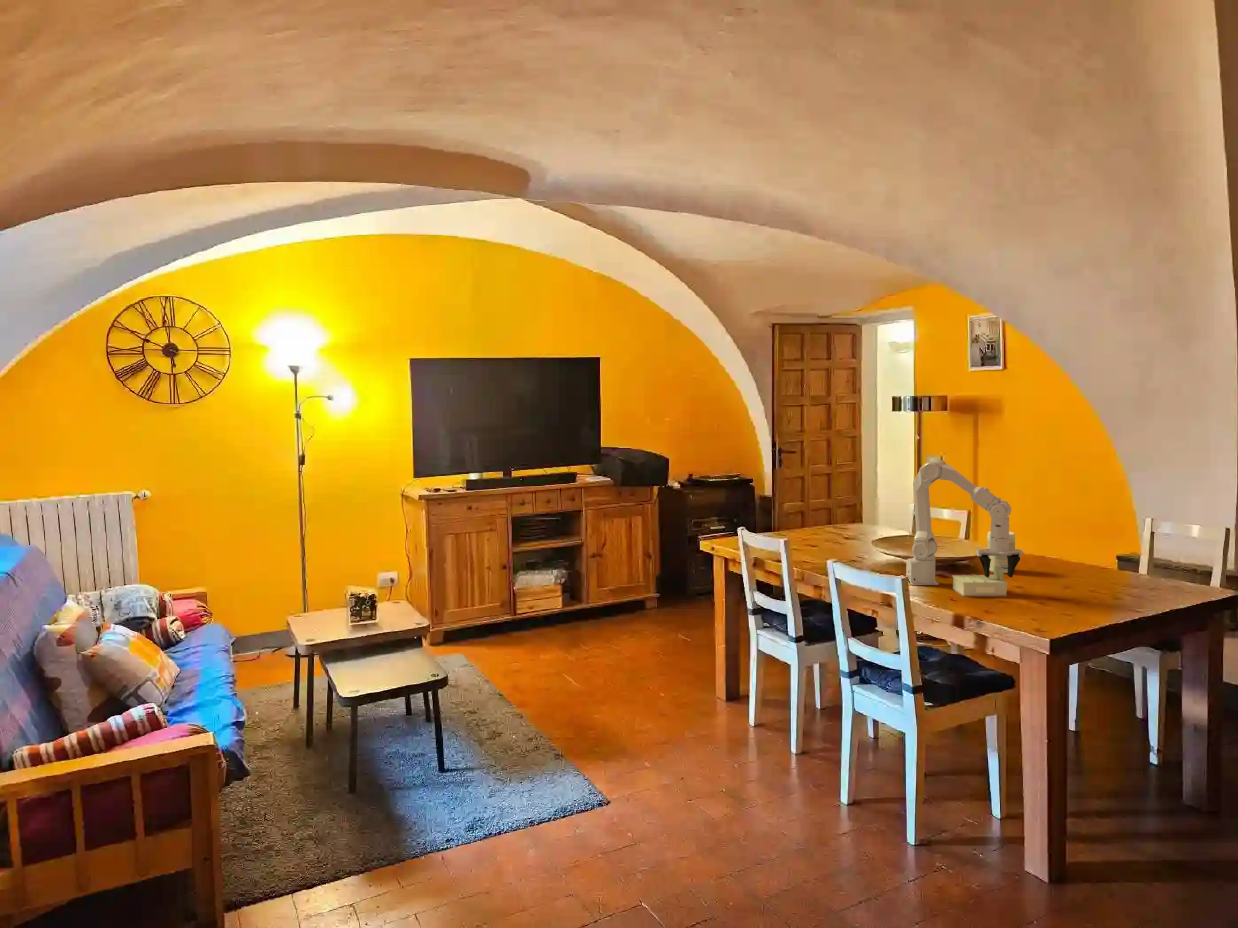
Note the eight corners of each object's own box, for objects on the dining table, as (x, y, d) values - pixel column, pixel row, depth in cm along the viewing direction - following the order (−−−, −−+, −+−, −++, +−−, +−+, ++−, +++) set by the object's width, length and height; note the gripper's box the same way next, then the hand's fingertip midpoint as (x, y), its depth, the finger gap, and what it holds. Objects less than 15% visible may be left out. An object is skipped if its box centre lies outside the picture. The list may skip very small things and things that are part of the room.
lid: (963, 584, 275) (963, 570, 275) (952, 577, 285) (952, 563, 285) (1007, 584, 274) (1007, 570, 274) (994, 577, 285) (995, 563, 284)
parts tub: (963, 596, 276) (963, 584, 275) (952, 588, 286) (952, 577, 285) (1006, 596, 275) (1007, 584, 274) (994, 588, 285) (994, 577, 285)
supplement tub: (1019, 571, 310) (1021, 532, 308) (1005, 575, 305) (1006, 535, 303) (995, 567, 318) (996, 529, 316) (981, 570, 313) (982, 532, 311)
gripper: (982, 539, 275) (981, 579, 276) (1026, 539, 274) (1025, 579, 275) (974, 535, 282) (973, 574, 283) (1017, 535, 281) (1016, 574, 282)
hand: (998, 576), depth 279 cm, fingers open, 7 cm apart
